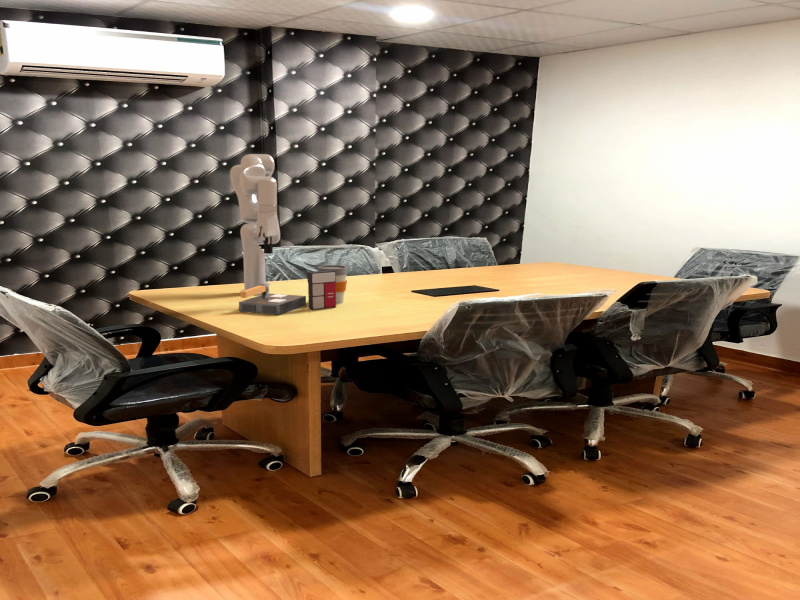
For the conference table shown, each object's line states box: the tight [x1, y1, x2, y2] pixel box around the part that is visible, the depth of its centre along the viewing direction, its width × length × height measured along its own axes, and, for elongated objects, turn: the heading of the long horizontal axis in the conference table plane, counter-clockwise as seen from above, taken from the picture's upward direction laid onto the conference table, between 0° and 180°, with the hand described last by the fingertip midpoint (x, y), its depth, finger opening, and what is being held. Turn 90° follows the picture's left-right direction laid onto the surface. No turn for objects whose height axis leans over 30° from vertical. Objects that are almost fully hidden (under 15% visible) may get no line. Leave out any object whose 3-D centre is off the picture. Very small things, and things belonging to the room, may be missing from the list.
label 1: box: [269, 293, 288, 298], centre depth 301 cm, size 6×5×1 cm
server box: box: [238, 291, 307, 316], centre depth 295 cm, size 22×18×6 cm
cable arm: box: [240, 283, 270, 299], centre depth 296 cm, size 20×4×3 cm, turn 163°
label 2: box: [268, 299, 286, 303], centre depth 290 cm, size 6×5×1 cm
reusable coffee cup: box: [317, 264, 348, 305], centre depth 310 cm, size 13×13×15 cm
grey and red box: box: [306, 270, 337, 311], centre depth 296 cm, size 11×4×15 cm, turn 122°
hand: (268, 253), depth 304 cm, fingers closed
